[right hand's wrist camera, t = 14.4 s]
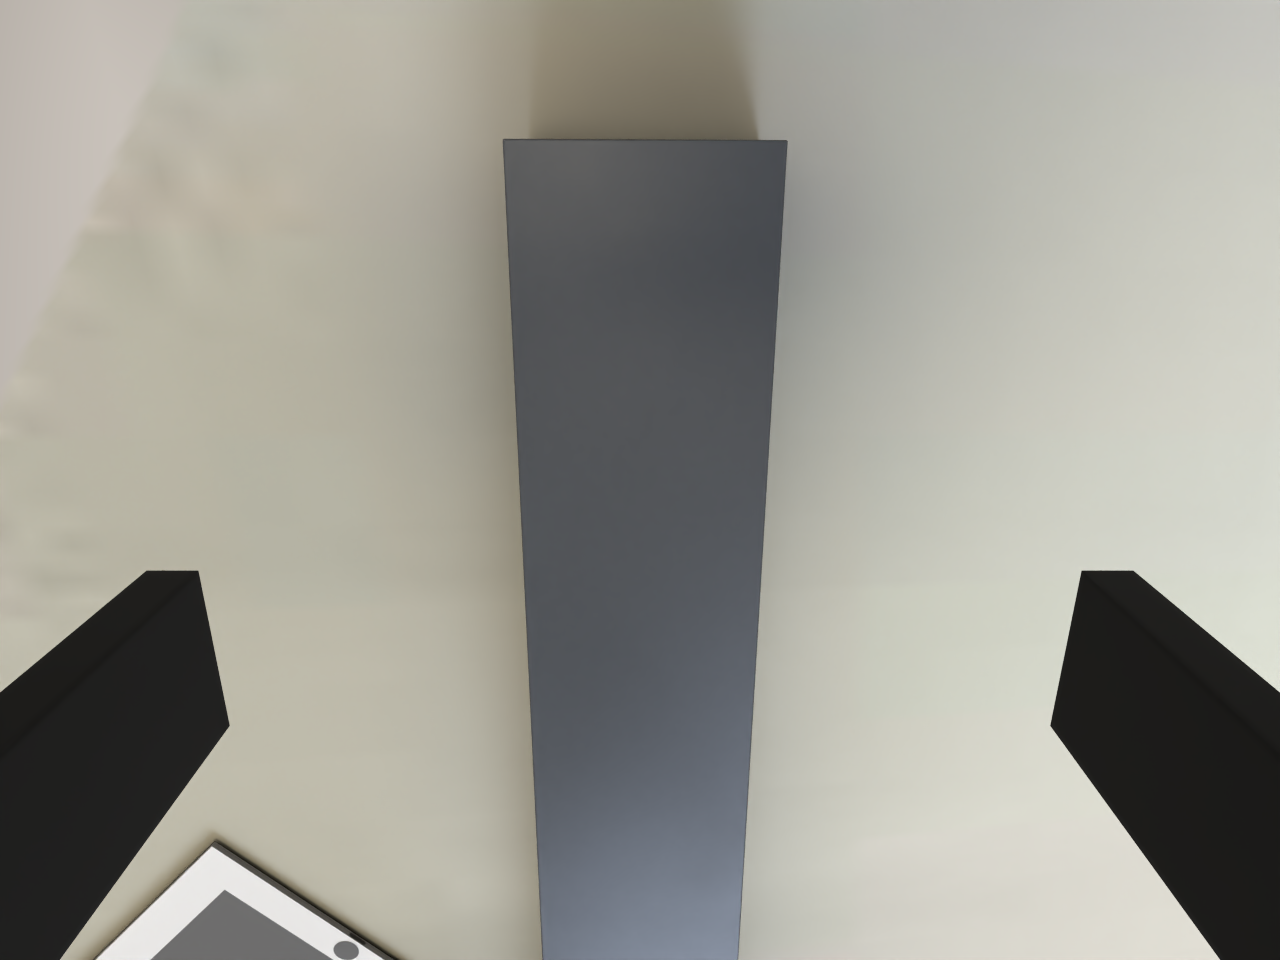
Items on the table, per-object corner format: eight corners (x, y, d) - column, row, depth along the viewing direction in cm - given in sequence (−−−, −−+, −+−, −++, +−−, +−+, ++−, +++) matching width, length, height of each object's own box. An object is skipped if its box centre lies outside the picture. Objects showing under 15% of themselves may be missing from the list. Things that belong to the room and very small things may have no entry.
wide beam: (527, 142, 35) (502, 138, 28) (760, 143, 35) (787, 140, 28) (566, 1121, 56) (556, 1247, 49) (711, 1121, 56) (720, 1248, 49)
